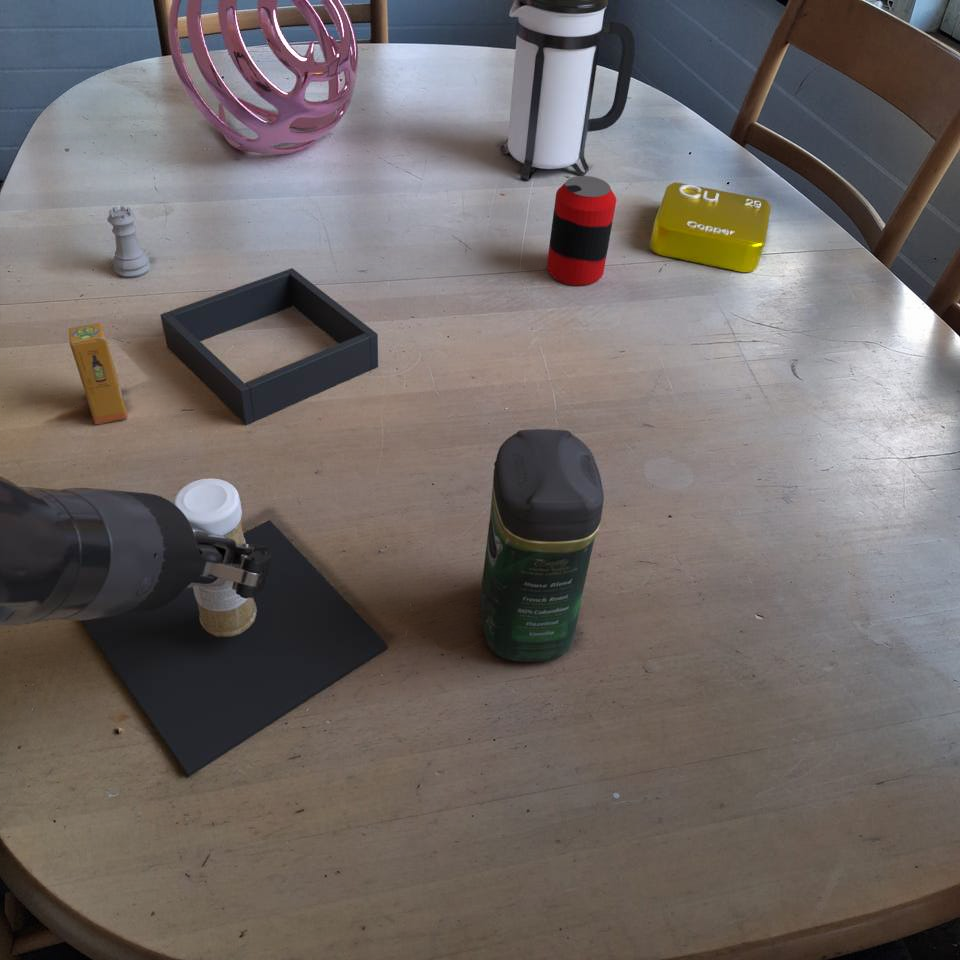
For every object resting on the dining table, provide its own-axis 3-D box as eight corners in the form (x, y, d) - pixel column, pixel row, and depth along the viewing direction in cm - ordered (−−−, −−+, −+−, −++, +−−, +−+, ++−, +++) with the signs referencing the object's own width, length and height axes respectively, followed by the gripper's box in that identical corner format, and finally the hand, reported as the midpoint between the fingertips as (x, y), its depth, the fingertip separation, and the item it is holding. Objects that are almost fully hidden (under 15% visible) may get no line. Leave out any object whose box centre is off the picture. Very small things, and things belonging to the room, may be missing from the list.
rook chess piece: (142, 281, 112) (129, 222, 106) (108, 276, 112) (93, 217, 107) (157, 263, 115) (145, 204, 109) (124, 258, 115) (110, 200, 110)
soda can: (536, 263, 121) (546, 177, 113) (583, 252, 124) (597, 168, 116) (565, 291, 116) (578, 204, 108) (614, 280, 119) (630, 194, 111)
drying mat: (188, 777, 65) (187, 773, 65) (80, 621, 74) (79, 616, 74) (387, 648, 74) (387, 644, 74) (270, 523, 84) (269, 519, 83)
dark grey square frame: (245, 425, 93) (240, 391, 90) (167, 348, 102) (159, 314, 99) (378, 367, 102) (377, 333, 99) (295, 300, 111) (292, 267, 108)
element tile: (646, 253, 125) (653, 221, 121) (663, 206, 135) (669, 176, 132) (755, 276, 122) (765, 244, 119) (764, 226, 133) (773, 196, 129)
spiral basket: (113, -17, 133) (198, -108, 114) (275, 4, 152) (371, -71, 132) (159, 176, 138) (248, 121, 118) (311, 174, 156) (410, 126, 137)
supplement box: (124, 400, 95) (103, 320, 88) (128, 420, 93) (106, 339, 86) (91, 406, 94) (67, 325, 87) (93, 426, 92) (69, 345, 85)
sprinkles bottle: (210, 592, 74) (184, 472, 65) (264, 598, 74) (246, 479, 65) (191, 636, 71) (162, 517, 62) (249, 643, 71) (228, 524, 62)
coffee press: (569, 196, 136) (600, -25, 115) (479, 166, 141) (493, -50, 121) (618, 158, 147) (654, -50, 126) (532, 131, 152) (554, -72, 132)
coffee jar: (580, 665, 74) (619, 507, 62) (485, 669, 74) (504, 509, 61) (562, 575, 81) (593, 416, 69) (475, 578, 80) (490, 417, 68)
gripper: (228, 525, 52) (330, 528, 69) (16, 460, 54) (164, 479, 71) (191, 651, 52) (302, 624, 68) (-18, 580, 54) (138, 570, 71)
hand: (231, 550), depth 70 cm, fingers closed on sprinkles bottle, 4 cm apart
